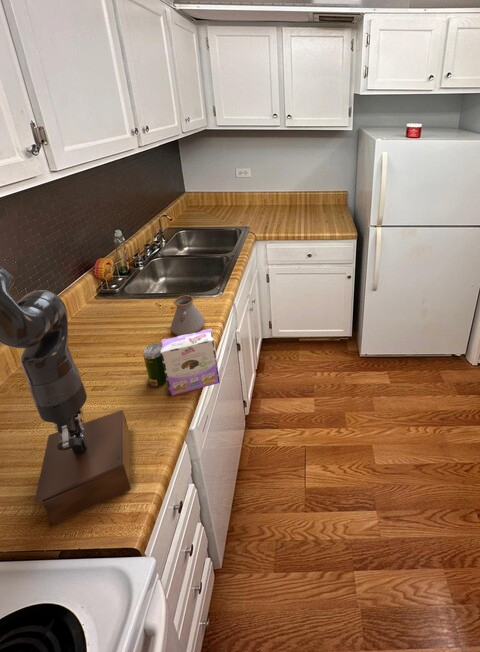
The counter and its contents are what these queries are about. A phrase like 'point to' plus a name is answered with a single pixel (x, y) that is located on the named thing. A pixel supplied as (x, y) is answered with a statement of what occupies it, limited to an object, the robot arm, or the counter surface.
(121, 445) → the lid
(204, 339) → the candy box
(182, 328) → the coffee pot
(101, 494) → the box
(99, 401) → the counter surface
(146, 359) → the beer can
